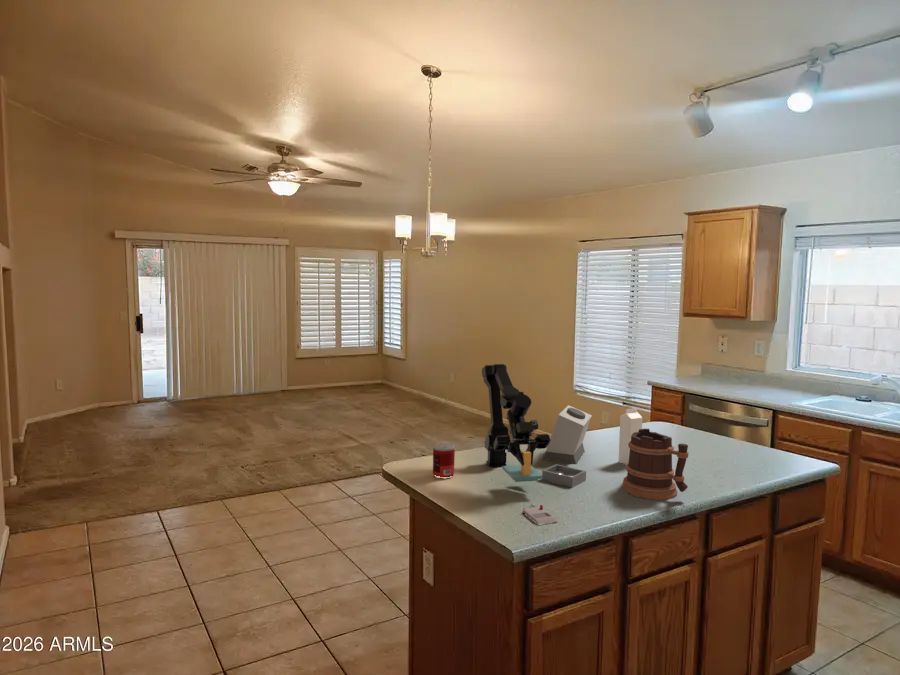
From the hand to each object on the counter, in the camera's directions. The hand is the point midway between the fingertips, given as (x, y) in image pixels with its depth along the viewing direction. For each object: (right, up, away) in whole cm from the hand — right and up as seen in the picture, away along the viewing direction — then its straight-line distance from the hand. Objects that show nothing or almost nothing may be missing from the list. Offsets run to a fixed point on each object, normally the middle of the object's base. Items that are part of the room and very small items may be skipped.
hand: (527, 464), depth 189 cm
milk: (+46, -8, +39) cm, 61 cm away
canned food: (-28, -9, +20) cm, 36 cm away
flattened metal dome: (+13, -9, +18) cm, 24 cm away
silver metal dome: (+17, -9, +14) cm, 24 cm away
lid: (-1, -5, +5) cm, 7 cm away
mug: (+44, -11, +7) cm, 46 cm away
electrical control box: (+1, -13, -15) cm, 20 cm away
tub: (+15, -10, +16) cm, 24 cm away
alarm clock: (+23, -7, +47) cm, 53 cm away
